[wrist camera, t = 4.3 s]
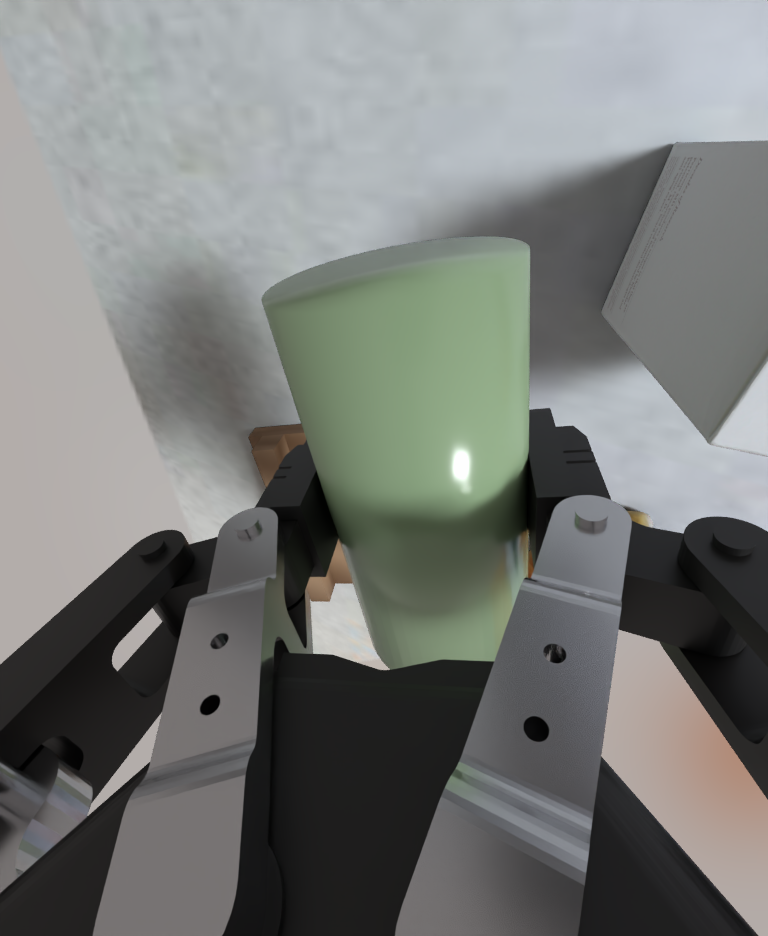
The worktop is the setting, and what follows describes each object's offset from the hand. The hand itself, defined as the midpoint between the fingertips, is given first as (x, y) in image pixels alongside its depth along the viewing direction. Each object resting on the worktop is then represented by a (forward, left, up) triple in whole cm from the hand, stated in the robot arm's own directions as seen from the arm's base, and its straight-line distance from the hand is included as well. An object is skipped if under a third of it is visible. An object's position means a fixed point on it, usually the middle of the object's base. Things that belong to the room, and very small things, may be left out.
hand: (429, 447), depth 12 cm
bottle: (+2, 0, -1) cm, 2 cm away
